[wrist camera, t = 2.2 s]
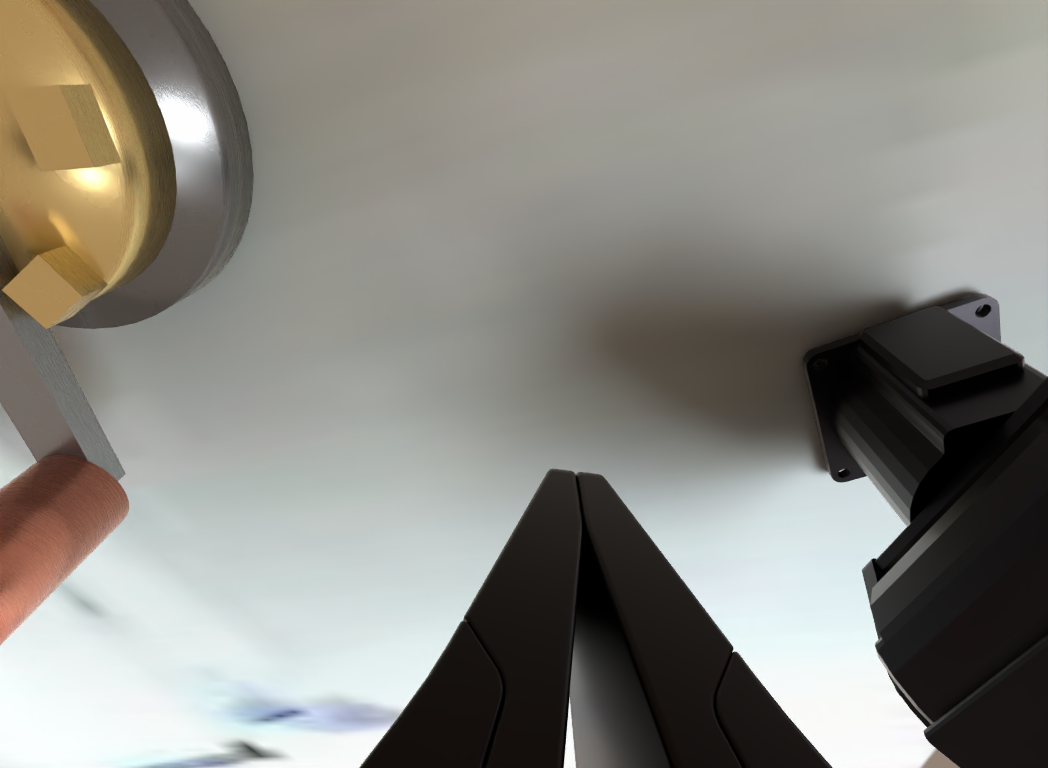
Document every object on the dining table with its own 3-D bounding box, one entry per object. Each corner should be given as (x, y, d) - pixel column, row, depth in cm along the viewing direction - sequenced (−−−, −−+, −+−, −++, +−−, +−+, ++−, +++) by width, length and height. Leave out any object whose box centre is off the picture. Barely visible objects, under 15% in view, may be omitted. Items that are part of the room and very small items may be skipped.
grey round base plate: (326, 228, 20) (304, 242, 18) (67, 354, 23) (27, 377, 21) (44, -240, 14) (-28, -285, 12) (-246, 10, 17) (-337, 3, 16)
